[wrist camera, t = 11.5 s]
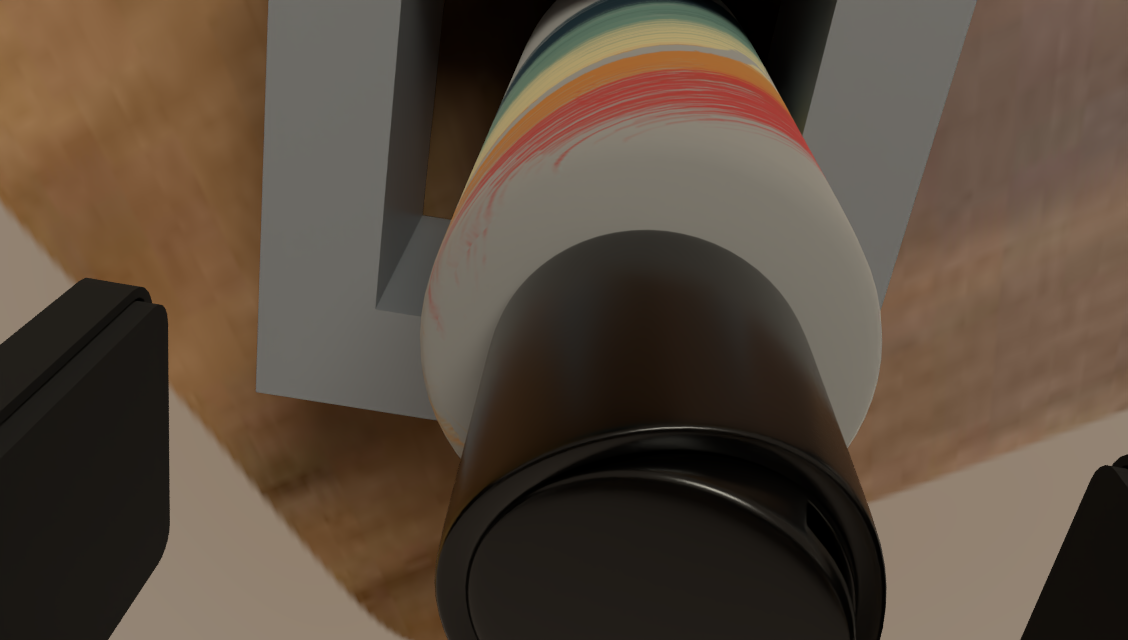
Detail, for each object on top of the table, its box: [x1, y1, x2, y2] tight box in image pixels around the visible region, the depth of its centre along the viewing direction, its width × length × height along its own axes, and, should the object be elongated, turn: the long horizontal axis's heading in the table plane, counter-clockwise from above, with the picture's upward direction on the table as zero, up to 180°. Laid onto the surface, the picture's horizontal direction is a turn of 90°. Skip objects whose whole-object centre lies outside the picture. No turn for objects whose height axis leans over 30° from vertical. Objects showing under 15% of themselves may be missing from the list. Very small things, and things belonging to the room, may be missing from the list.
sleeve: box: [256, 0, 977, 420], centre depth 24 cm, size 13×13×6 cm
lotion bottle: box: [420, 0, 886, 640], centre depth 17 cm, size 6×6×20 cm
